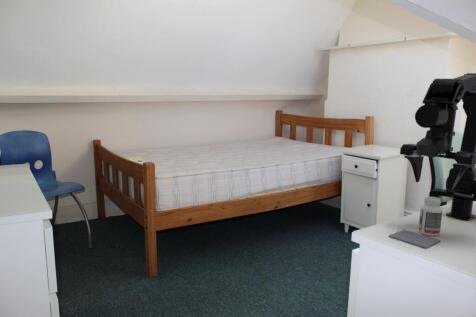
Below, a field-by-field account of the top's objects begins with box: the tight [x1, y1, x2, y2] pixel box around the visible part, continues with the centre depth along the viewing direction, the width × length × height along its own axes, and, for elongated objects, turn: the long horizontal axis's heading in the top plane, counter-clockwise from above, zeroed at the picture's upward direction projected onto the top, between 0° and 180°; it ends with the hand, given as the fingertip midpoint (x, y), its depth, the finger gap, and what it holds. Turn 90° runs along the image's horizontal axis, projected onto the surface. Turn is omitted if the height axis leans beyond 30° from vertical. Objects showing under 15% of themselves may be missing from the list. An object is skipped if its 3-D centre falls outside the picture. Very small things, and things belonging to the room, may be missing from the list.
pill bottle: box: [417, 196, 443, 237], centre depth 112 cm, size 5×5×10 cm
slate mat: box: [388, 228, 442, 250], centre depth 108 cm, size 8×10×1 cm
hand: (434, 185), depth 110 cm, fingers open, 9 cm apart
